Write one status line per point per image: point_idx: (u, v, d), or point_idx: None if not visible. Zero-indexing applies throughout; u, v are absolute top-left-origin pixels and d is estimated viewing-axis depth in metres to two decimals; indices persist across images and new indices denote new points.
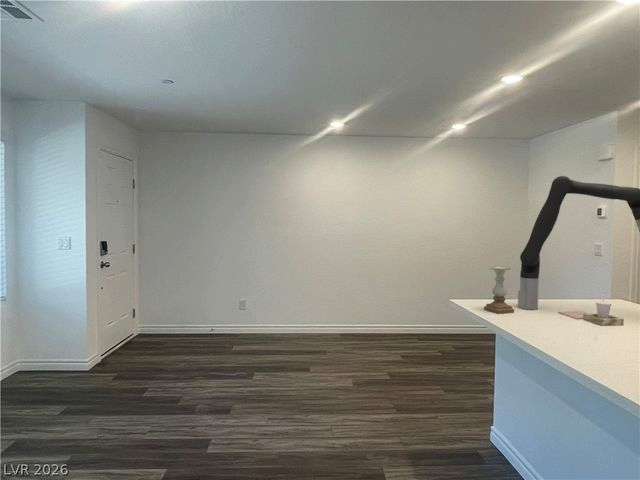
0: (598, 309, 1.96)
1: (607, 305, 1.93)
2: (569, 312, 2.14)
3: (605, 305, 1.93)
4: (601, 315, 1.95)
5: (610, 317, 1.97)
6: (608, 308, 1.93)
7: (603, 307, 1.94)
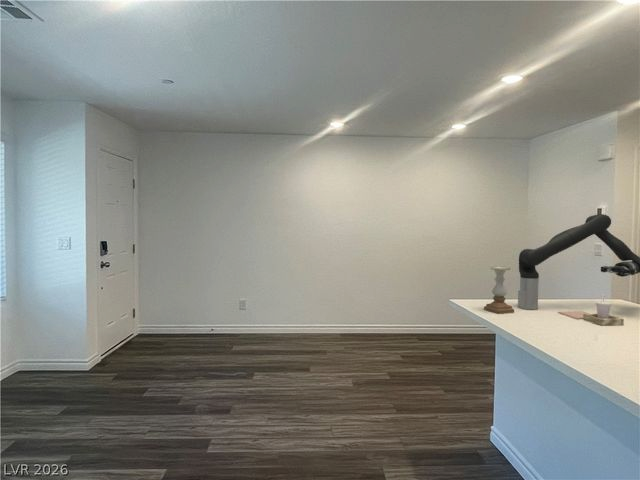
0: (598, 309, 1.96)
1: (607, 305, 1.93)
2: (569, 312, 2.14)
3: (605, 305, 1.93)
4: (601, 315, 1.95)
5: (610, 317, 1.97)
6: (608, 308, 1.93)
7: (603, 307, 1.94)
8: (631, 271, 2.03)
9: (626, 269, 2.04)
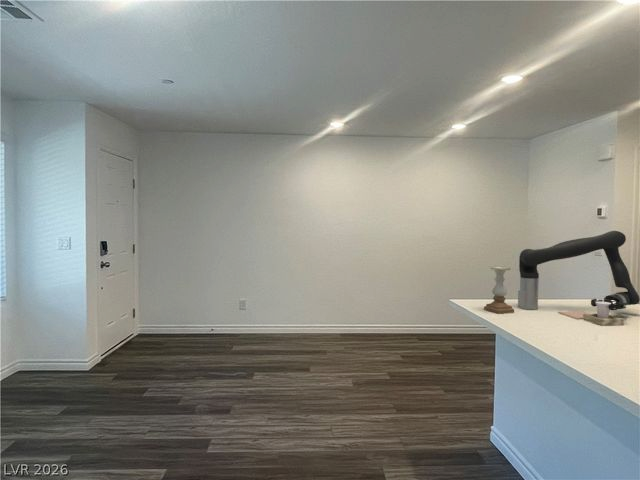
0: (598, 309, 1.96)
1: (607, 305, 1.93)
2: (569, 312, 2.14)
3: (605, 305, 1.93)
4: (601, 315, 1.95)
5: (610, 317, 1.97)
6: (608, 308, 1.93)
7: (603, 307, 1.94)
8: (618, 306, 1.93)
9: (613, 304, 1.94)
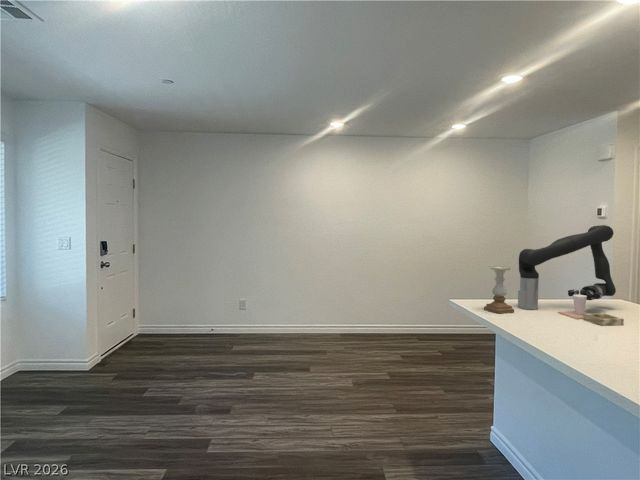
0: (575, 302, 2.10)
1: (583, 298, 2.07)
2: (569, 312, 2.14)
3: (581, 298, 2.07)
4: (577, 307, 2.09)
5: (610, 317, 1.97)
6: (584, 301, 2.07)
7: (579, 300, 2.07)
8: (596, 296, 2.06)
9: (591, 294, 2.07)
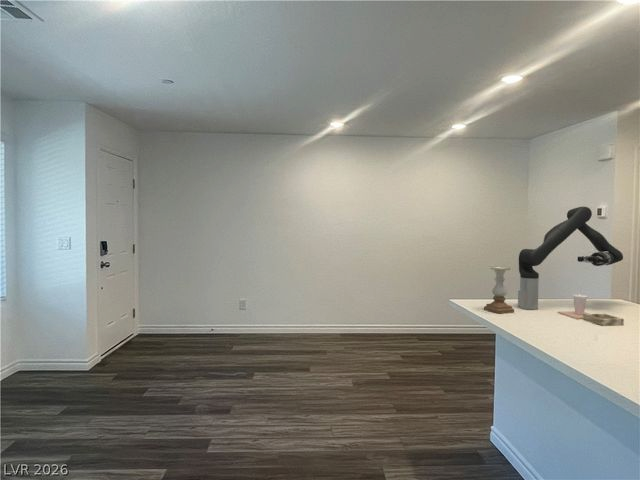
0: (575, 301, 2.10)
1: (583, 298, 2.07)
2: (569, 312, 2.14)
3: (581, 298, 2.07)
4: (577, 307, 2.09)
5: (610, 317, 1.97)
6: (584, 300, 2.07)
7: (579, 300, 2.08)
8: (605, 260, 2.15)
9: (600, 258, 2.16)
